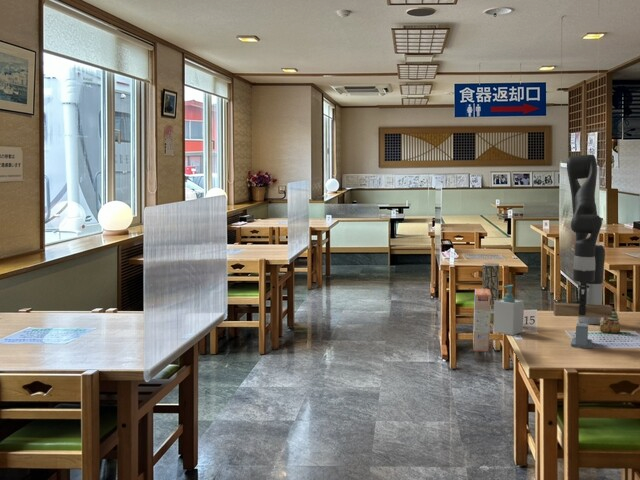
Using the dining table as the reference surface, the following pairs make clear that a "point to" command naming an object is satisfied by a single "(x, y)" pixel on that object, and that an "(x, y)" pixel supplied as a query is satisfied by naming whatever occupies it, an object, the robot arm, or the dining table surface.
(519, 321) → the soap bottle
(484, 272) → the bark textured block
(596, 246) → the robot arm
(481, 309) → the cracker box
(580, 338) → the fulcrum ridge
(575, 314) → the walnut bar
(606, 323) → the ornament
